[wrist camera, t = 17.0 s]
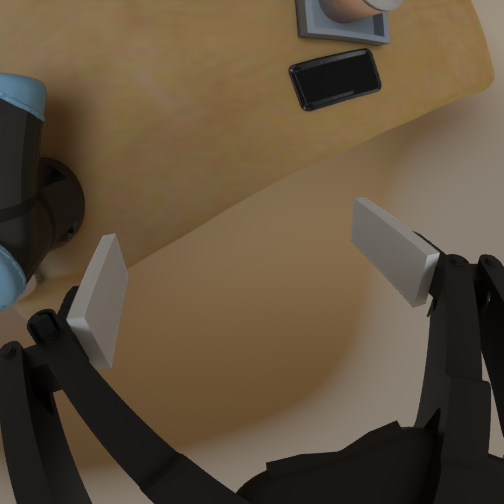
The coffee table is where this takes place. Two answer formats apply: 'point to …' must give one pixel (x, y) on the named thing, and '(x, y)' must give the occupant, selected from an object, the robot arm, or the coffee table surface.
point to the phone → (335, 78)
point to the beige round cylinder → (355, 9)
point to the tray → (340, 26)
